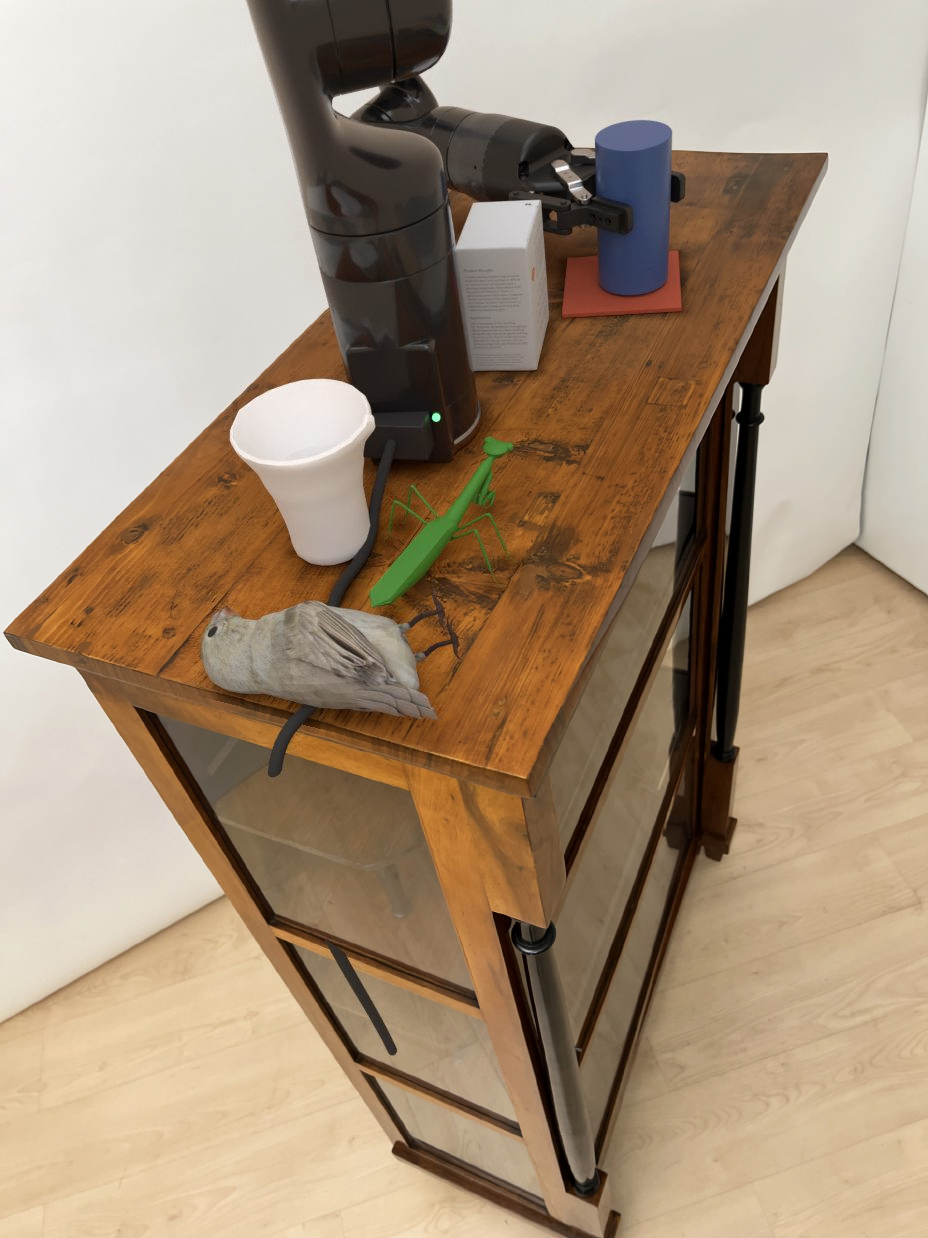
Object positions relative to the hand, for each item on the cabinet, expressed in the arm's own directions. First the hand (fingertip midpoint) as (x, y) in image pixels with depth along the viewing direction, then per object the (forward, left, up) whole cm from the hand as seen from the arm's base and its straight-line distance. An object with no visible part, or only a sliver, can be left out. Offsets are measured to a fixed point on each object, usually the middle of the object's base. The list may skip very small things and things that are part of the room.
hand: (656, 204), depth 76 cm
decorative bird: (-42, +12, -4) cm, 44 cm away
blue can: (+2, +2, -7) cm, 7 cm away
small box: (-7, +12, -8) cm, 16 cm away
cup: (-31, +22, -8) cm, 39 cm away
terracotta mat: (+2, +3, -8) cm, 8 cm away
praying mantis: (-33, +14, -8) cm, 37 cm away
